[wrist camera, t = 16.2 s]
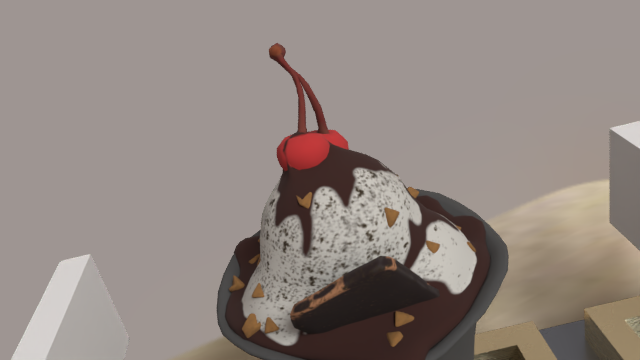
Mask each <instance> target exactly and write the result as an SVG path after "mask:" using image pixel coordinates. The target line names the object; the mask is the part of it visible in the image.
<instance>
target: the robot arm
mask: <svg viewBox="0 0 640 360" xmlns="http://www.w3.org/2000/svg"><path fill="white" fill-rule="evenodd" d="M610 223H611V224H612V225H613V226H614V227H615V228H616V229H617V230H618V231H619V232H620V233H621V234H622V235H624V236H625V237H626V238H627V239H628V240H629V241H630V242H631V243H632V244H633V245H634V246H635V247H636V248H637V249H638V250H640V121H638V122H634V123H630V124H625V125H622V126H617V127H613V128H610ZM128 343H129V336H128V334H127V332H126V330H125V328H124V325H123V323H122V321H121V319H120V317H119V315H118V313H117V310H116V308H115V306H114V304H113V302H112V299H111V297H110V295H109V293H108V291H107V289H106V286H105V284H104V282H103V280H102V278H101V276H100V273H99V271H98V269H97V267H96V265H95V262H94V261H93V258H92V256H91V254H88V255H84V256H80V257H76V258H71V259H67V260H63V261H60V263H59V265H58V267H57V269H56V271H55V273H54V275H53V277H52V279H51V281H50V283H49V285H48V287H47V289H46V291H45V293H44V295H43V297H42V299H41V301H40V303H39V305H38V307H37V309H36V311H35V313H34V315H33V317H32V319H31V321H30V323H29V325H28V327H27V329H26V331H25V333H24V335H23V337H22V339H21V341H20V343H19V345H18V347H17V349H16V351H15V353H14V355H13V357H12V359H11V360H124V358H125V354H126V350H127V347H128Z"/></svg>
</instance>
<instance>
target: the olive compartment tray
mask: <svg viewBox="0 0 640 360" xmlns="http://www.w3.org/2000/svg"><path fill="white" fill-rule="evenodd" d="M474 360H640V296H636V297H632V298H627V299H623V300H619V301H615V302H611V303H606V304H602V305H598V306H594V307H589V308H585V309H584V320H580V321H576V322H572V323H568V324H563V325H559V326H555V327H551V328H547V329H542V330H538V329H537V327H536V325H535V324H534V322H533V321H530V322H526V323H522V324H518V325H513V326H509V327H505V328H501V329H497V330H492V331H488V332H484V333H480V334H475V344H474Z"/></svg>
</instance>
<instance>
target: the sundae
mask: <svg viewBox="0 0 640 360" xmlns="http://www.w3.org/2000/svg"><path fill="white" fill-rule="evenodd" d="M285 53H286V51H285V48H284V47H283V46H282V45H280V44H278V43H276V44H275V45H273V46H271V48H270V49H269V55H270V58H271V59H273V60H275V61H277V62H278V63H279V64H280V65H281V66H282V67H283V68H284V69H285V70H286V71H288V72H289V73H290V75H291V76H292V78H293V80H294V83H295V85H296V88H297V94H298V97H299V99H298V105H299V106H298V107H299V109H298V113H299V114H298V115H299V116H298V118H299V119H298V131H297V132H296V133H294V134H292V135H290V136H288V137H286V138H284V140H283V141H282V142H281V144H280V145H279V146H278V148H277V158H278V161H279V163H280V165H281V167H282V168H283V174H282V176H281V178H280V180H279V182H278V184H277V185H276V187H275V188H274V190H273V191H272V193H271V195H270V197H269V199H268V201H267V203H266V205H265V208H264V211H263V213H262V222H261V230H260V231H258V232H257V233H256V234H254V235H253V236H252V237H250V238H245V239H244V240H242V241H241V242H240V243H239V244H238V245H237V246H236V249H235V251H234V255H233V256H232V258H231V260H230V262H229V264H228V266H227V268H226V271H225V273H224V275H223V278H222V281H221V285H220V288H219V291H218V301H217V318H218V325H219V327H220V329H221V332H222V334H223V335H224V336H225V337H226V338H227V339H228V340H229V341H230V342H232V343H233V344H234V345H235V346H237V347H239V348H240V349H242V350H243V351H245V352H247V353H248V354H250V355H252V356H255V357H258V358H260V359H263V360H474V344H475V329H476V322H477V321H478V320H479V319H480V318H481V317H482V316H483V314H484V313H485V312H486V310H487V309H488V307H489V305H490V304H491V302H492V300H493V299H494V297H495V295H496V294H497V292H498V290H499V288H500V286H501V284H502V282H503V279H504V277H505V275H506V273H507V271H508V251H507V246H506V244H505V243H504V241H503V240H502V239H501V237H500V236H499V235H498V234H497V233H496V232H495V231H494V230H493V229H492V228H491V227H490V226H489V225H488V224H487V223H486V222H485V221H484V220H483V219H482V218H481V217H480V216H478V215H477V214H476V213H475V212H473V211H472V210H470V209H468V208H467V207H465V206H464V205H462V204H460V203H459V202H457V201H455V200H452V199H450V198H448V197H446V196H444V195H442V194H439V193H435V192H430V191H424V190H419V189H413V188H412V187H408V188H406V187H405V185H404V184H403V183H402V181H401V180H400V178H399V177H398V175H396V174H395V173H393V172H392V171H391V170H389V168H387V167H386V166H385V165H384V164H382V163H381V162H380V161H378V160H376V159H374V158H372V157H370V156H368V155H366V154H362V153H359V152H355V151H351V150H349V149H348V142H347V141H346V140H345V139H344V137H343V136H341V135H340V134H339V133H338V132H337V131H335V130H328V128H327V126H326V122H325V118H324V115H323V112H322V108H321V106H320V104H319V102H318V100H317V98H316V97H315V95H314V93H313V91H312V90H311V88H310V86H309V84H308V83H307V82H306V81H305V80H304V78H303V77H302V76H301V75H300V74H298V73H297V72H296V71H295V70H293V69H292V68H291V67H290V66H289V65H288V63H287V62H286V61H285V59H284V56H285ZM301 84H302V86H303V88H304V90H305V91H306V94H307V95H308V98H309V100H310V102H311V104H312V107H313V110H314V111H315V114H316V119H317V123H318V127H319V129H318V130H315V131H311V132H307V129H306V115H305V114H306V111H305V100H304V94H303V89H302V86H301Z"/></svg>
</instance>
